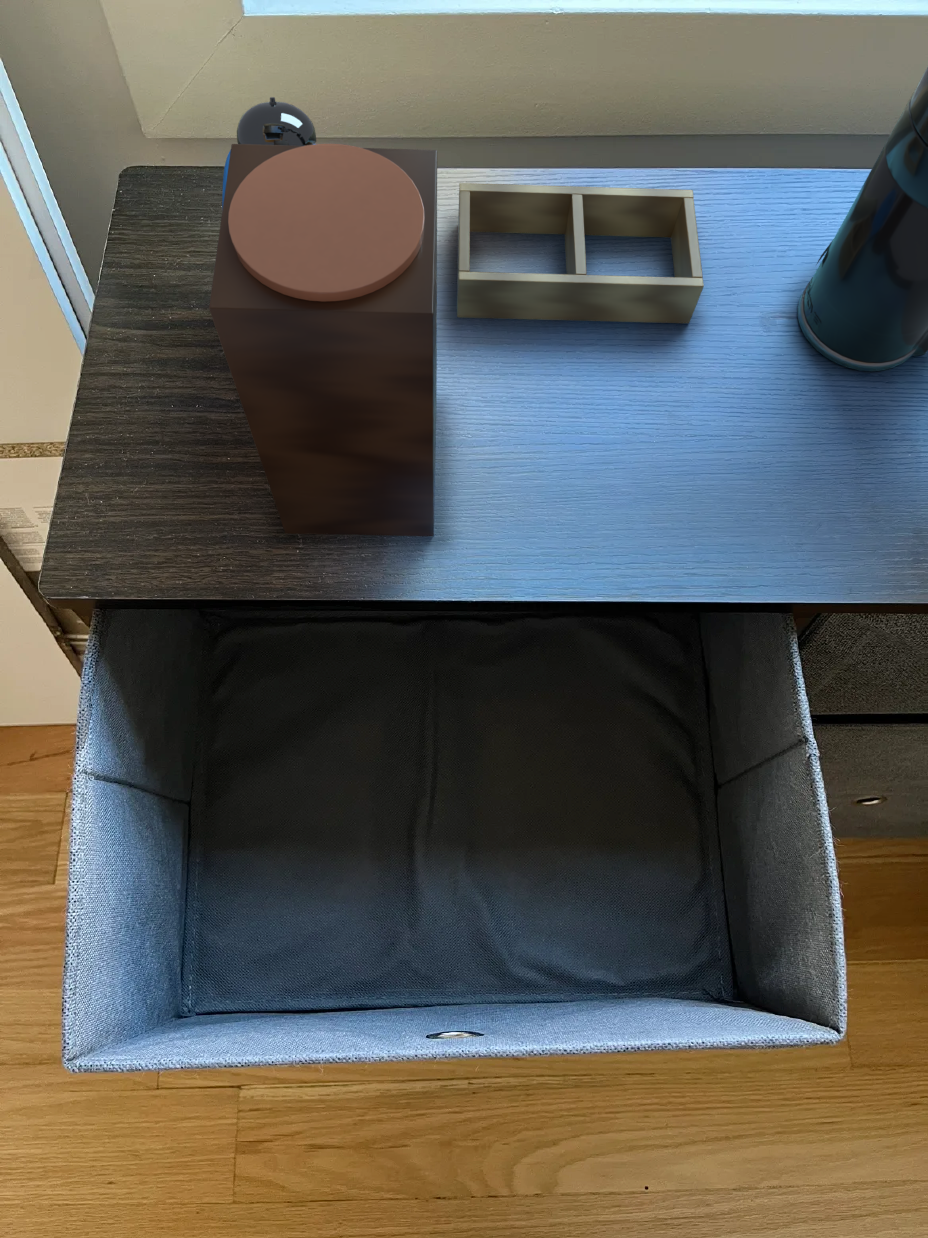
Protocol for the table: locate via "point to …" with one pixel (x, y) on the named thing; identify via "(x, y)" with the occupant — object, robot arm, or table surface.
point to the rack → (579, 253)
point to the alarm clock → (273, 128)
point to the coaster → (326, 222)
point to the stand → (338, 379)
